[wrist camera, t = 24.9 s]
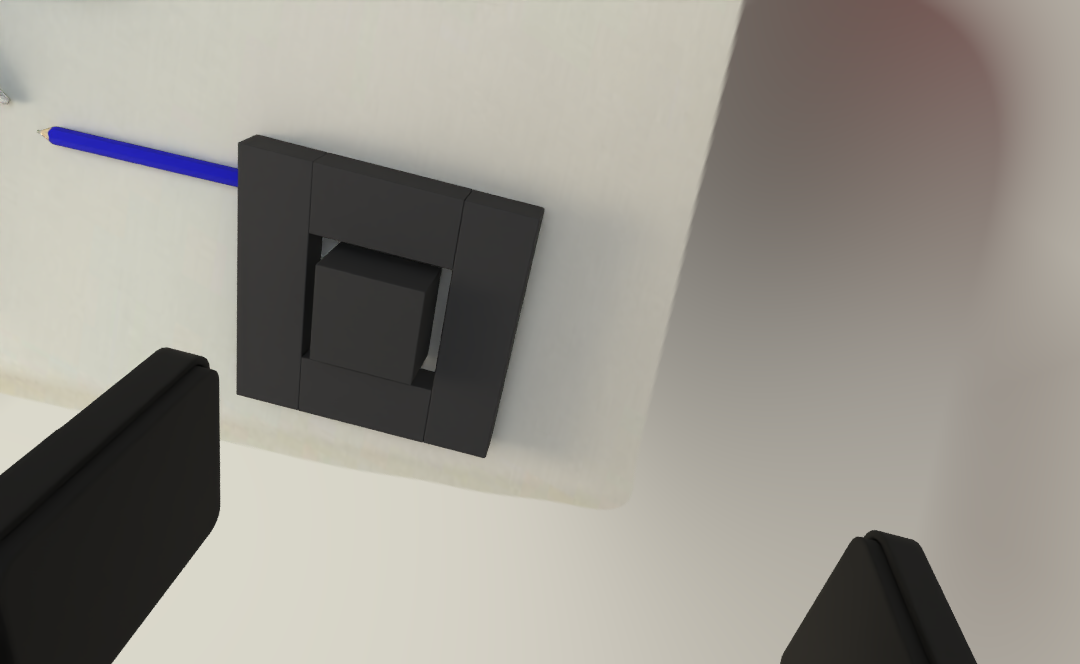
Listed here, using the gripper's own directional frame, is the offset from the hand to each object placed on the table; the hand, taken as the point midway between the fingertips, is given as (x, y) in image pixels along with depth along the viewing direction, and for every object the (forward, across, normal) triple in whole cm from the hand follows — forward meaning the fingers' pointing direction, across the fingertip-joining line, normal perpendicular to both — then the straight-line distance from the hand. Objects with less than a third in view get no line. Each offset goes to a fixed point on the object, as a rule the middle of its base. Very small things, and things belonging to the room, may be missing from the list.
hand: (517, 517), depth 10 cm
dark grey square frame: (+28, +10, +13) cm, 33 cm away
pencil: (+29, +22, +8) cm, 37 cm away
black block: (+28, +10, +13) cm, 33 cm away
